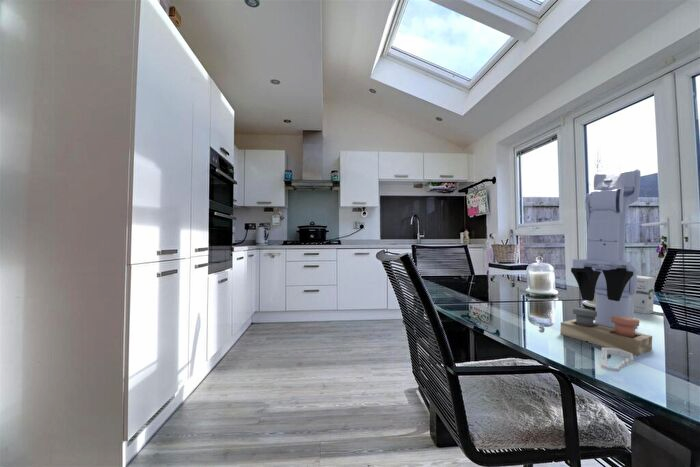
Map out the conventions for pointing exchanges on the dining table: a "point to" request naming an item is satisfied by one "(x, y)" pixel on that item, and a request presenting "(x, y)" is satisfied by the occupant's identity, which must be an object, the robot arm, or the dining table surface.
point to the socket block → (607, 337)
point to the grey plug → (584, 316)
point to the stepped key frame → (615, 352)
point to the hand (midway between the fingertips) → (600, 300)
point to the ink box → (644, 295)
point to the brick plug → (625, 325)
